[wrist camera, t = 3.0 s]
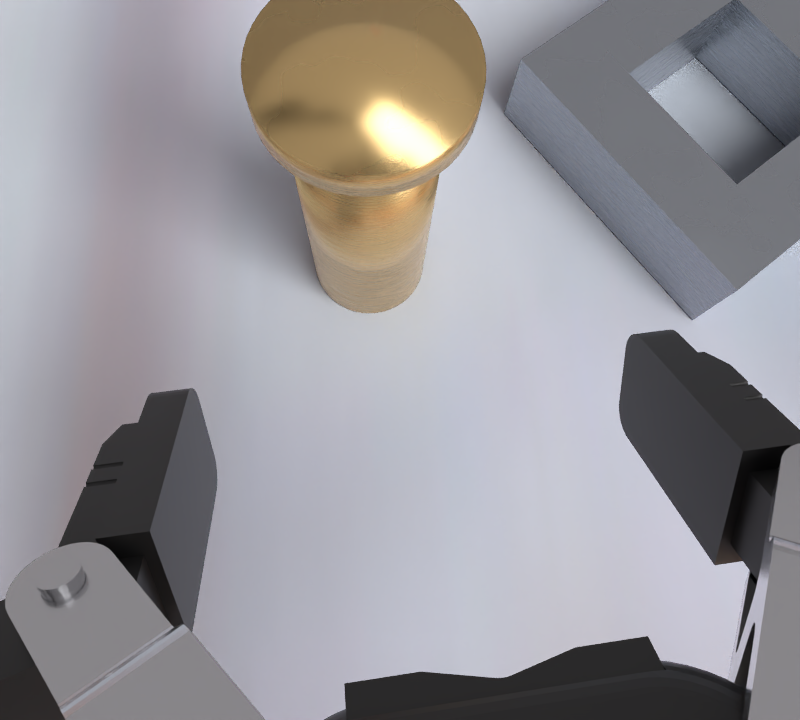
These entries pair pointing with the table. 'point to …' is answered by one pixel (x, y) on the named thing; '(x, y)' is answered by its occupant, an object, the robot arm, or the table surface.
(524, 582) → the table surface
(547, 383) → the table surface
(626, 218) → the jig
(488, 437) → the table surface
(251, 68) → the gold capped peg
